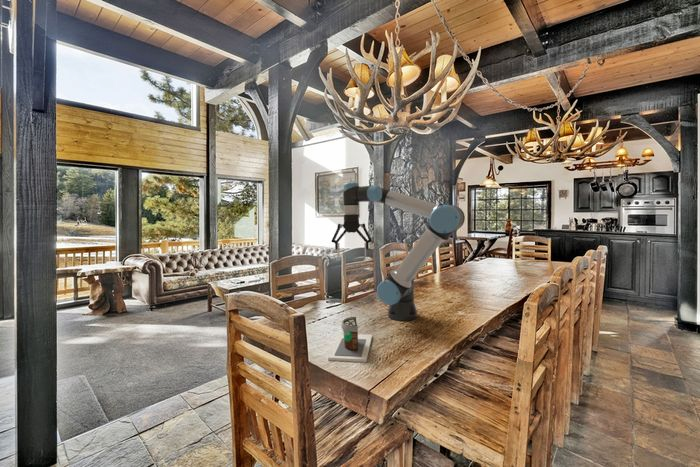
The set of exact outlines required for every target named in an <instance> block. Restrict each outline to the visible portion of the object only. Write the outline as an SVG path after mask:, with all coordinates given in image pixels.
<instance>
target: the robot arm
mask: <svg viewBox="0 0 700 467" xmlns="http://www.w3.org/2000/svg"><path fill="white" fill-rule="evenodd" d="M342 193H343V224H342V223H338V224H337V227H336V230H335V233H334V235H333V237H332V238H331V243H334V248H335V249H334V250H336V251H337V257H340V255H341V254H340V253H341V252H340V241H341V239H342V238H343V237H344V236H345V234H346V233H357V234H358V236H359V237H360V238H361V239H362V240H363V241H364V243H363V244H364V257H367V250H369V244H370V243H371V242H372V241H373V239H372V237H371V236H370V234H369V232H368V229H367V227H366V224H365V223H364V222H363V223H360V215H359V213H360V212H359V208H360V206H359V203H361V202H363V203H365V202H366V203H367V202H373V203H374V202H375V203H380V204H383V205H387V206H390V207H394V208H396V209H399V210H402V211H405V212H407V213H411V214H414V215H417V216H421V217H423V218H425V219H426V218H427V219H428V220H427V221H426V224H425V225H424V226H425V230H424V231H423V233H422V234H421V236H420V237H419V239H418V240H417V241H416V243H415V244H414V245H413V246H412V247H411V249H410V251H409V252H408V253H407V254H406V256H405V257H404V258H403V260H402V261H401V262H400V264H398V267H397V268H396V269H393V270H391V271H390V272H388V275H387V276H386V277H385V279H384V280H382V281H381V282H380V283H378V285H377V287H376V293H377V297H378V299H379V300H380V301H381V302H382V303H383V304H385V305H388V310H387V317H388V318H389V319H391V320H395V321H399V322H401V321H403V322H406V321H413V320H416V319H417V318H418V310H417V308H416V305H415V304H416V303H415V277H416V276H417V274H418V273H419V272H420V271H421V270H422V268H423V266H424V265H425V264H426V263H427V261H428V260H429V259H430V258H431V256H432V255H433V254H434V253H435V251H436V250H437V249H438V247H440V245H441V244H442V242H447V241H448V240H449V239H450V238H451V236H452V235H453V234H454V232H455V231H457V230H459V229H460V228H462V227H463V225H464V224H465V219H466V217H465V212H464V211H463V209H462V208H460V207H459V206H457V205H453V204H444V203H441V202H440V203H438V204H437V203H433V202H430V201H427V200H424V199H420V198H418V197H414V196H411V195H407V194H404V193H401V192H397V191H394V190H390V189H387V188H386V187H382V186H380V185H373V184H371V185H363V186H359V183H358V182H345V183H343V191H342ZM342 227H343V228H344V230H343V232H341V234H340V235H339V236H338V234H339V232H340V230H341V229H342ZM360 227H361V228H362V229H363V231H364V234H365V235H366V236H365V235H364V234H363V233H362V232H361V231H360V230H359V228H360ZM337 237H338V238H337ZM336 238H337V239H336Z"/></svg>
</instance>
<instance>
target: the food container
mask: <svg viewBox="0 0 700 467" xmlns="http://www.w3.org/2000/svg"><path fill="white" fill-rule="evenodd" d="M357 323H358V322H357V316H350V317H346V318H344V319H343V320H342V322H341V329H342V332H343V333H342V334H344V344H345V348H346V349H348V350H351V351H358V334H359V328H358V327H359V325H358V324H357Z"/></svg>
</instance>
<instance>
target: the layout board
mask: <svg viewBox="0 0 700 467" xmlns="http://www.w3.org/2000/svg"><path fill="white" fill-rule="evenodd" d="M372 338H373V335H372V334H362V333H360V334H359V333H358V351H351V350H348V349H346V348H345V344H344V333H339V336H338V337H337V339H336V341H335V342H334V345H333V347H332V349H331V351H330V353H329V355H328V357H327V360H328V361H334V362H335V361H336V362H337V361H339V362H355V363H357V362H358V363H367V361H368V356H369V352H370V348H371V344H372Z"/></svg>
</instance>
